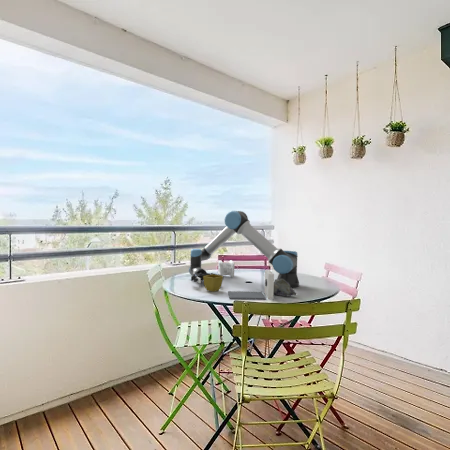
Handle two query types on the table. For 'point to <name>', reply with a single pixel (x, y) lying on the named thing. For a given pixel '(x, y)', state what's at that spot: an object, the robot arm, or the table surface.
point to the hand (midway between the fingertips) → (210, 280)
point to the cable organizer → (226, 268)
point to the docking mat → (246, 295)
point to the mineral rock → (282, 288)
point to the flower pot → (212, 282)
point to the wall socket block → (269, 284)
